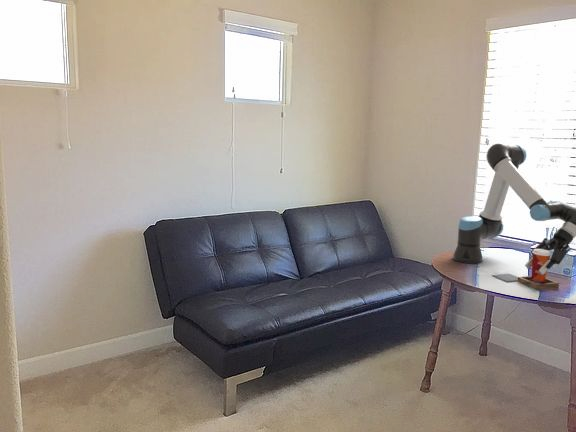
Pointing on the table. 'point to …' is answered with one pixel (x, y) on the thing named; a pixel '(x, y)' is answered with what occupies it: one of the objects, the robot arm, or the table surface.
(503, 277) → the mat
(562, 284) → the table surface
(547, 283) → the brown square open frame
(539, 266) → the paper cup
